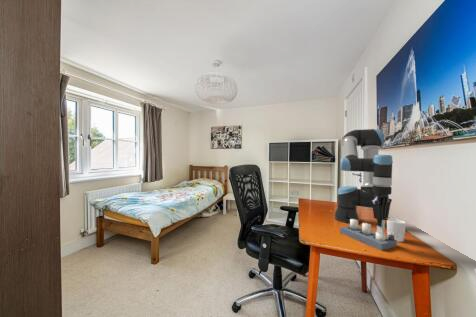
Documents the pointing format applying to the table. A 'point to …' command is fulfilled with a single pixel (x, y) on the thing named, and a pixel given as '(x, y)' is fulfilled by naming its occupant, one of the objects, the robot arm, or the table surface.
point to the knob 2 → (380, 236)
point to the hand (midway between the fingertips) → (380, 232)
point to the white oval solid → (366, 228)
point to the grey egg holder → (369, 238)
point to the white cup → (396, 229)
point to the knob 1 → (353, 224)
